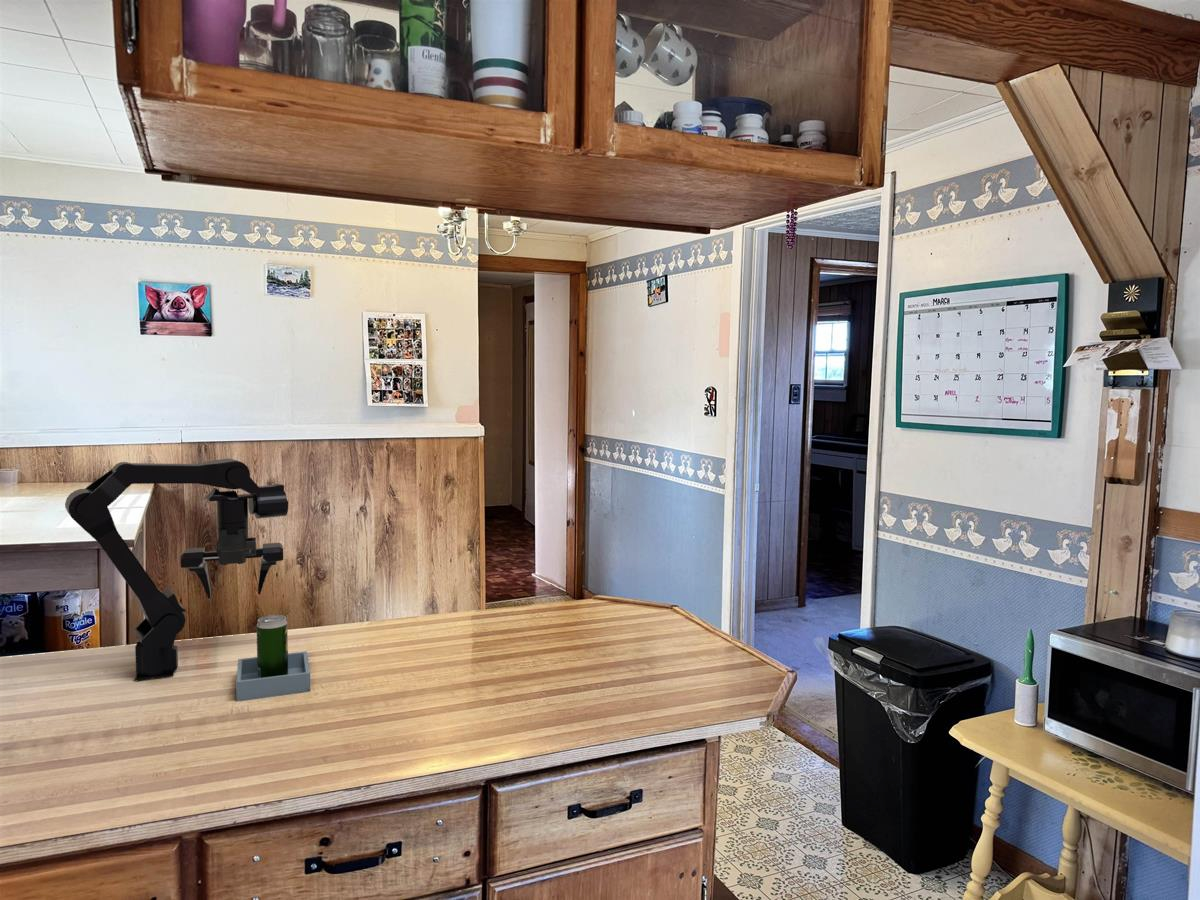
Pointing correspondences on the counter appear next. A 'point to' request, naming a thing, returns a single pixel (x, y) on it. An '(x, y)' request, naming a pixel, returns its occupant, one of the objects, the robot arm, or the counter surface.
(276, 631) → the beer can
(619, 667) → the counter surface
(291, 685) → the box
